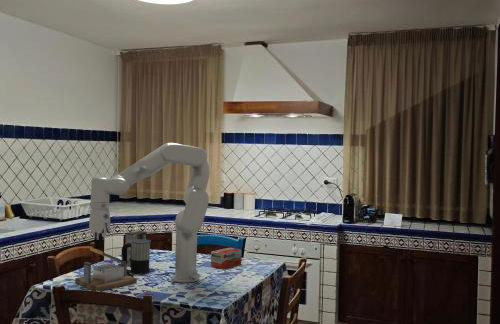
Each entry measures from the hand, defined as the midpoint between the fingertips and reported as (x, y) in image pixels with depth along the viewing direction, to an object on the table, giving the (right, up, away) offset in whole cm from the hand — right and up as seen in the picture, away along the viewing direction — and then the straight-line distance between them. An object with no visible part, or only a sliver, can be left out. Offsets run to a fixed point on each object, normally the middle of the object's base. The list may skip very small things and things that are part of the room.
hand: (98, 248), depth 211 cm
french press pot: (+7, -15, +39) cm, 42 cm away
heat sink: (+2, -14, +3) cm, 14 cm away
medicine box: (+53, -16, +41) cm, 69 cm away
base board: (+2, -16, +3) cm, 16 cm away
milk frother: (+11, -16, +21) cm, 28 cm away
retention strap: (+3, -5, +4) cm, 7 cm away
